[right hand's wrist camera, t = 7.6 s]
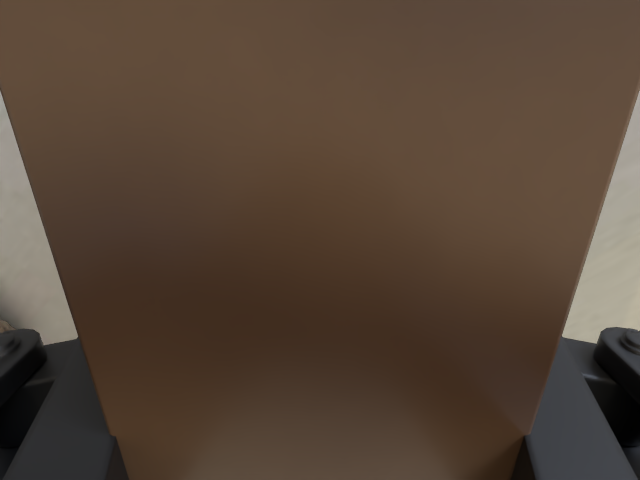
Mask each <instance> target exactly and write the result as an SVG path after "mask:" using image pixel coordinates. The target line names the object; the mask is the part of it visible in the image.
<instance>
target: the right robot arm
mask: <svg viewBox="0 0 640 480" xmlns="http://www.w3.org/2000/svg"><path fill="white" fill-rule="evenodd" d="M0 480H129V477H128V474H127V471H126V468H125V464H124V461H123V458H122V455H121V451H120V448H119V445H118V442H117V438H116V436H112V435H110V434H109V431H108V428H107V425H106V422H105V419H104V416H103V412H102V409H101V406H100V403H99V400H98V397H97V394H96V390H95V387H94V384H93V381H92V378H91V375H90V371H89V368H88V365H87V362H86V359H85V356H84V352H83V349H82V346H81V343H80V340H79V337H78V338H77V339H75V340H70V341H65V342H59V343H54V344H49V345H43V343H42V340H41V337H40V334H39V333H38V332H36V331H35V330H31V329H18V330H9V331H4V332H3V333H1V332H0ZM511 480H640V331H638V330H635V329H630V328H628V329H627V328H620V327H613V328H606V329H604V330H603V331H601V333H600V336H599V339H598V342H597V344H594V343H589V342H584V341H578V340H573V339H568V338H563V337H562V336H561V339H560V342H559V345H558V349H557V352H556V355H555V358H554V361H553V364H552V368H551V371H550V374H549V377H548V380H547V383H546V387H545V390H544V393H543V396H542V399H541V402H540V405H539V409H538V412H537V415H536V418H535V421H534V424H533V428H532V431H531V434H529V435H524V438H523V441H522V445H521V448H520V451H519V454H518V458H517V461H516V464H515V467H514V471H513V474H512V477H511Z"/></svg>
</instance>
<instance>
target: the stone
mask: <svg viewBox="0 0 640 480" xmlns="http://www.w3.org/2000/svg"><path fill="white" fill-rule="evenodd" d="M9 330H17V329H15V328H13V327H11V326H10V325H9V323H8V322H7V321H2V320H0V332H1V333H3V332H4V331H9Z"/></svg>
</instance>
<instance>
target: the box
mask: <svg viewBox="0 0 640 480" xmlns="http://www.w3.org/2000/svg"><path fill="white" fill-rule="evenodd" d="M0 90H1V94H2V97H3V100H4V103H5V106H6V109H7V113H8V116H9V119H10V122H11V125H12V128H13V131H14V135H15V138H16V141H17V144H18V147H19V150H20V154H21V157H22V160H23V163H24V166H25V169H26V173H27V176H28V179H29V182H30V185H31V188H32V191H33V195H34V198H35V201H36V204H37V207H38V210H39V214H40V217H41V220H42V223H43V226H44V229H45V233H46V236H47V239H48V242H49V245H50V248H51V251H52V255H53V258H54V261H55V264H56V267H57V270H58V274H59V277H60V280H61V283H62V286H63V289H64V292H65V296H66V299H67V302H68V305H69V308H70V311H71V315H72V318H73V321H74V324H75V327H76V330H77V334H78V337H79V340H80V343H81V346H82V349H83V352H84V356H85V359H86V362H87V365H88V368H89V371H90V375H91V378H92V381H93V384H94V387H95V390H96V394H97V397H98V400H99V403H100V406H101V409H102V412H103V416H104V419H105V422H106V425H107V428H108V431H109V434H110V435H112V436H116V438H117V442H118V445H119V448H120V451H121V455H122V458H123V461H124V464H125V468H126V471H127V474H128V477H129V480H511V477H512V474H513V471H514V467H515V464H516V461H517V458H518V454H519V451H520V448H521V445H522V441H523V438H524V435H529V434H531V431H532V428H533V424H534V421H535V418H536V415H537V412H538V409H539V405H540V402H541V399H542V396H543V393H544V390H545V387H546V383H547V380H548V377H549V374H550V371H551V368H552V364H553V361H554V358H555V355H556V352H557V349H558V345H559V342H560V339H561V336H562V333H563V330H564V327H565V323H566V320H567V317H568V314H569V311H570V308H571V304H572V301H573V298H574V295H575V292H576V289H577V286H578V282H579V279H580V276H581V273H582V270H583V267H584V263H585V260H586V257H587V254H588V251H589V248H590V244H591V241H592V238H593V235H594V232H595V229H596V226H597V222H598V219H599V216H600V213H601V210H602V207H603V203H604V200H605V197H606V194H607V191H608V188H609V184H610V181H611V178H612V175H613V172H614V169H615V166H616V162H617V159H618V156H619V153H620V150H621V147H622V143H623V140H624V137H625V134H626V131H627V128H628V125H629V121H630V118H631V115H632V112H633V109H634V106H635V102H636V99H637V96H638V93H639V90H640V0H0Z"/></svg>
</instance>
